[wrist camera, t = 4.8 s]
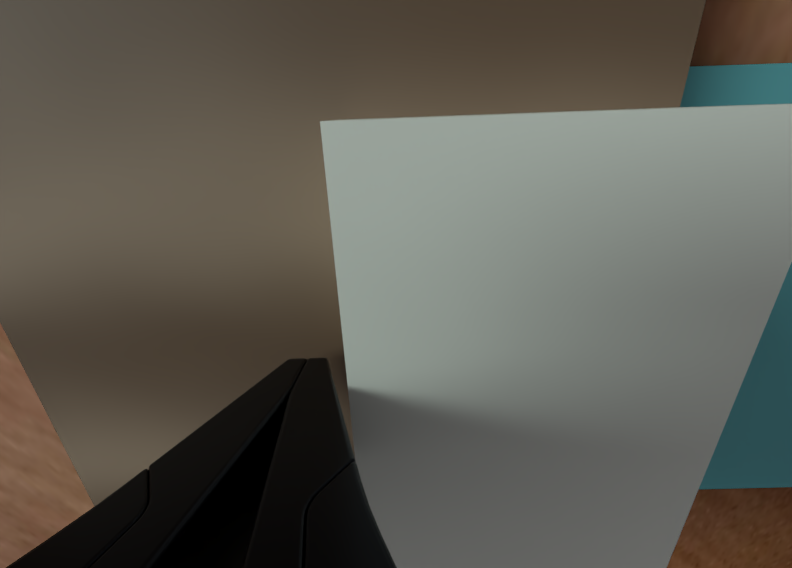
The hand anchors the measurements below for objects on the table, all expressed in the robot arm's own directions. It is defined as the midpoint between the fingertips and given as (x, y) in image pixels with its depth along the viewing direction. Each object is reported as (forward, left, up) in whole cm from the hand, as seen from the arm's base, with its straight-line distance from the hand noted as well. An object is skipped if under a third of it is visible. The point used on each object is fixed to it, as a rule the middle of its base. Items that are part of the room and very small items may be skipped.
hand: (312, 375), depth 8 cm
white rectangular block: (0, -5, -1) cm, 5 cm away
